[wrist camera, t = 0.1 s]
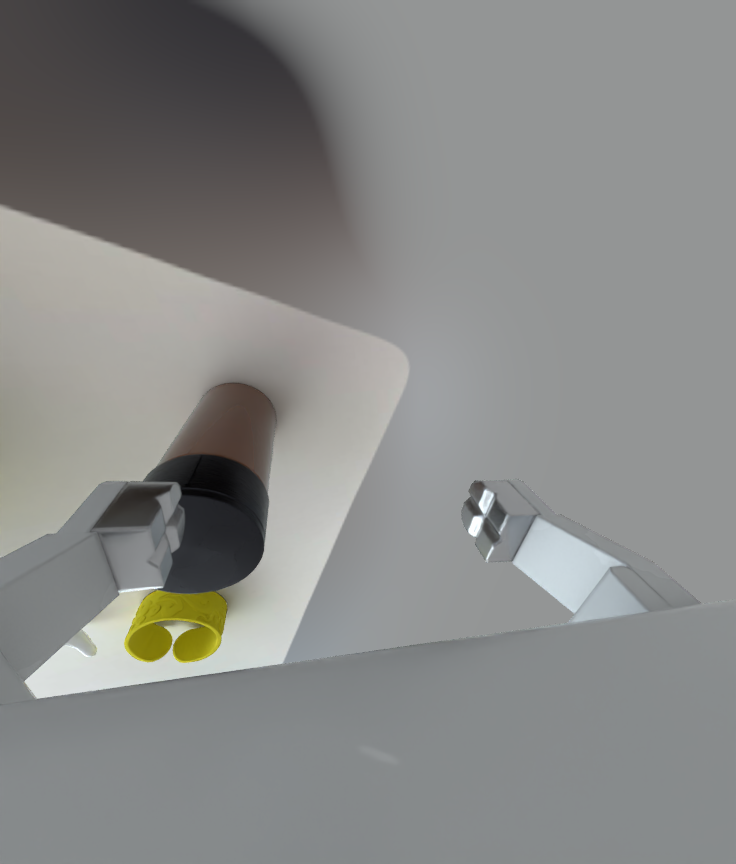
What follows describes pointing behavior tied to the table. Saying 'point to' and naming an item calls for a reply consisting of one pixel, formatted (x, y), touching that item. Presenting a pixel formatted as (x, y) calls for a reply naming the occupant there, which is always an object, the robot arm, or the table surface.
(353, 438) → the table surface
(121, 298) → the table surface
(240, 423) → the jar
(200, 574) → the lid
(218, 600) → the bracelet
